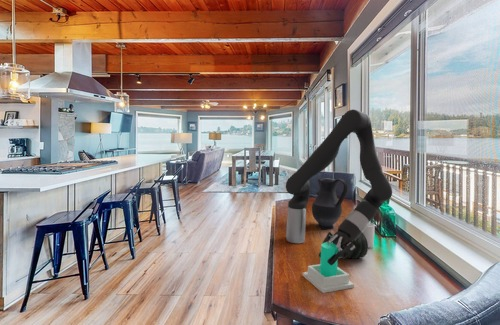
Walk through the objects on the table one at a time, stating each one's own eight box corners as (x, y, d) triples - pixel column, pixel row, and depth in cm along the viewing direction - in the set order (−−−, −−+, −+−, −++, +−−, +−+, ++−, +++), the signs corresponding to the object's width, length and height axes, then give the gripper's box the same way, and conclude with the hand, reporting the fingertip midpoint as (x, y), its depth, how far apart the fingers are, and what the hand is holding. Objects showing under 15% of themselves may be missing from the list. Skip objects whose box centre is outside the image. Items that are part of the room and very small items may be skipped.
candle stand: (302, 275, 110) (303, 264, 109) (331, 271, 114) (331, 260, 114) (322, 293, 98) (323, 281, 97) (353, 287, 102) (354, 275, 102)
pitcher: (322, 221, 185) (325, 174, 182) (352, 230, 169) (355, 179, 167) (305, 225, 174) (307, 176, 171) (334, 235, 158) (338, 181, 155)
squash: (321, 241, 133) (343, 222, 124) (340, 236, 142) (361, 218, 134) (340, 269, 125) (364, 251, 117) (358, 262, 135) (381, 245, 127)
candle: (324, 268, 110) (325, 237, 109) (339, 273, 106) (341, 241, 105) (316, 273, 105) (318, 241, 104) (332, 279, 102) (334, 245, 101)
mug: (373, 250, 139) (375, 227, 138) (354, 247, 142) (355, 224, 141) (372, 242, 150) (373, 221, 149) (354, 239, 153) (355, 218, 152)
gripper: (335, 214, 114) (307, 247, 110) (361, 224, 100) (330, 262, 97) (346, 226, 116) (319, 258, 113) (372, 238, 102) (343, 275, 99)
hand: (324, 260), depth 105 cm, fingers closed on candle, 5 cm apart
